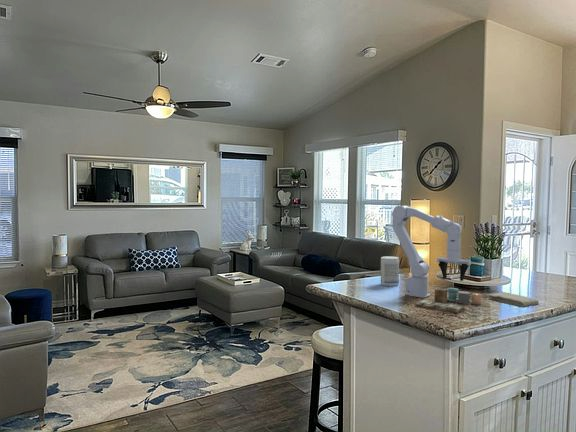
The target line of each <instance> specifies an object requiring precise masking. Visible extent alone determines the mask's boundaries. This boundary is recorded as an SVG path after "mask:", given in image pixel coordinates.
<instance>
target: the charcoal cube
mask: <svg viewBox="0 0 576 432" xmlns="http://www.w3.org/2000/svg"><path fill="white" fill-rule="evenodd" d="M457 295H458V296H457V297H458V301H457V303H458V304H467V305H470V295H471V294H470V291H465V290H464V291H462V290H459V291H457Z"/></svg>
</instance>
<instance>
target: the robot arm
mask: <svg viewBox="0 0 576 432" xmlns="http://www.w3.org/2000/svg"><path fill="white" fill-rule="evenodd" d="M391 216H392V217H391V218H392V220H391V221H392V223H391V227H392V229H393V231H394V233H395V235H396V237H397V239H398V241H399V243H400V245H401V247H402V249H403V251H404V253H405V255H406V257H407V259H408V265H409V267H410V273H411V275H408V276H407V277H406V281H405V295H406V296H410V297H416V298H422V299H423V298H427V297H430V296H431V295H432V294H430V293H428V292H429V291H428V290H429V289H428V288H429V287H428V284H429V283H428V282H429V280H428V279H429V276H428V273H429V271H430V266H429V264H428V263H427V262H426V261H425V260H424V258H423V257H421V256H420V254H419V253H418V250H417V248H416V246H415V244H414V242H413V241H412V239H411V237H410V234H409V233H408V230H407V229H406V227H405V226H406V223H407V220H408V219H409V218H411V217H412V218H414V217H415V218H416V219H417V218H418V219H420V220H422V221H425V222H427V223H429V224H430V225H431V227H432V228H434V229H436V230H439V231H441V232H444V233H446V235H447V240H446V241H447V244H446V245H447V246H446V257H437V259H436V262H437V263H438V267H439V269H440V270H441V273H442V278H443V279H444V280H445V279H447V277H448V275H447V271H448V270H447V269H448V264H456V265H459V270H460V271H459V273H460V274H459V275H460V276H459V281H460V282H463V281H464V280H465V279H464V278H465V275H466V273H467V270H468V269H469V267H470V266H471V265H472V262H471V261H472V260H468V259H462V258H461V254H462V253H461V252H462V251H461V250H462V249H461V247H462V235H461V234H462V233H463V228H462V227H463V226H462V225H461V224H459V223H458V222H454V221H453V220H450V219H447V218H445V217H444V216H442V215H436V216H433V215H430V214H429V213H426V212H424V211H422V210H420V209H418V208H416V207H413V206H409V205H406V204H405V205H397V206H395V207H394V208H393V210H392V212H391Z"/></svg>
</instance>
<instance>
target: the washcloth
mask: <svg viewBox="0 0 576 432" xmlns="http://www.w3.org/2000/svg"><path fill="white" fill-rule="evenodd" d="M488 299H489V300H493V301H495V302H500V303H504V304H505V303H506V304H509V305H512V304H513V306H516V305H517V307H522V306H524V307H528V305H529V306H534V305H535V304H536V305H539V303H540V302H539V300H538V299H536V298H532V297H528V296H524V295H520V294H515V293H511V292H508V291H507V292H506V291H502V292H500V293H498V292H497V293H496V292H494V293H490V294H488Z"/></svg>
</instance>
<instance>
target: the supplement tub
mask: <svg viewBox="0 0 576 432" xmlns="http://www.w3.org/2000/svg"><path fill="white" fill-rule="evenodd" d="M399 284H400V257H398V256H391V255H390V256H389V255H388V256H387V255H386V256H381V257H380V285H382V286H385V287H386V286H387V287H395V286H396V287H397V286H399Z"/></svg>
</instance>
